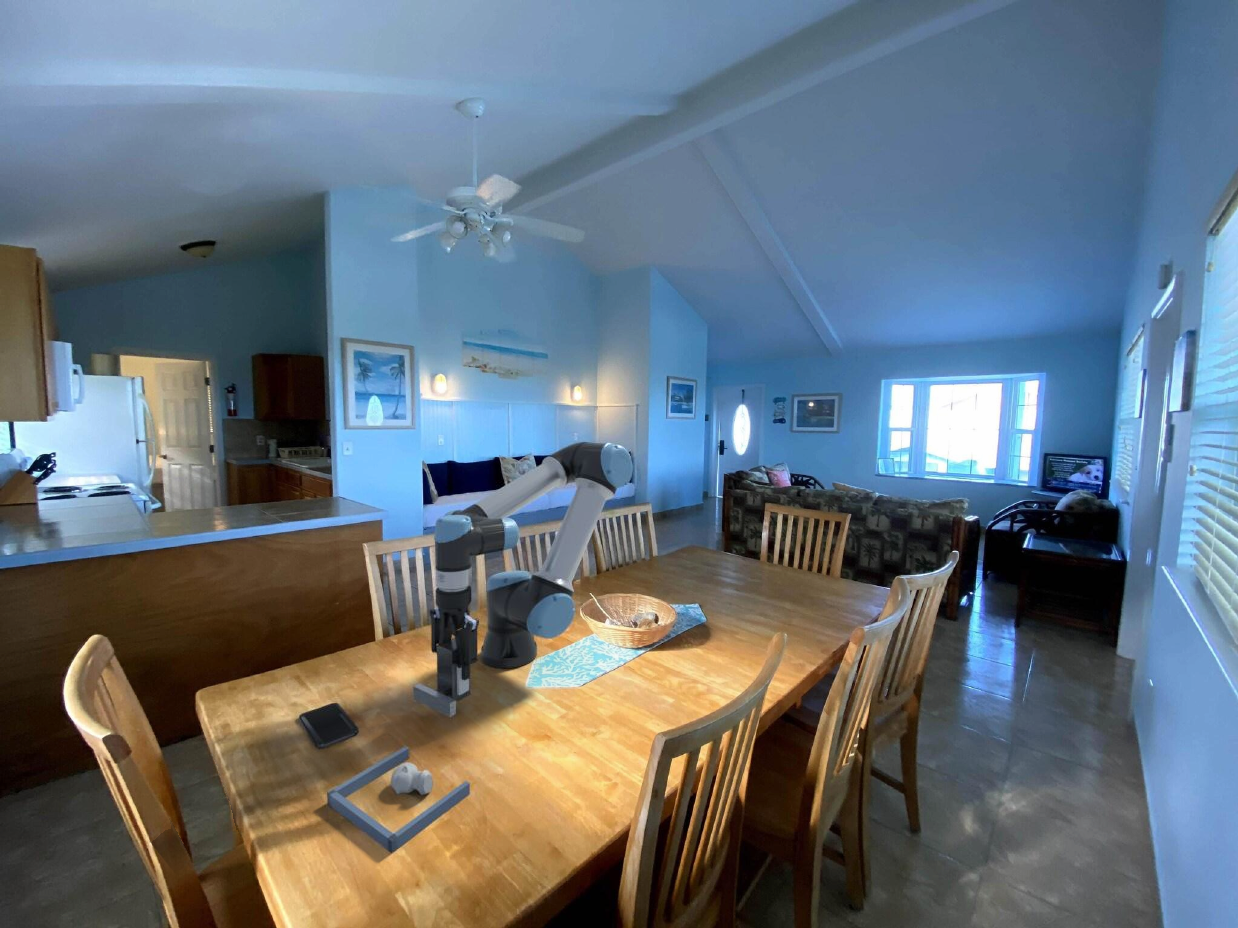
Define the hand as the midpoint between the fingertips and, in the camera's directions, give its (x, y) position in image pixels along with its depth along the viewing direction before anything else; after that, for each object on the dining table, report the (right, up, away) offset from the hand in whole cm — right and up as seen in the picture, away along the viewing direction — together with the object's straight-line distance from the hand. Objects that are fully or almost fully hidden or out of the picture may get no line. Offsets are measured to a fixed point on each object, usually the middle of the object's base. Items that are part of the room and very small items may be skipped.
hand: (454, 688), depth 117 cm
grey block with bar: (-1, -2, -1) cm, 3 cm away
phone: (-25, -6, -6) cm, 26 cm away
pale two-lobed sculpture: (0, -8, -24) cm, 26 cm away
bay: (-1, -8, -27) cm, 28 cm away
